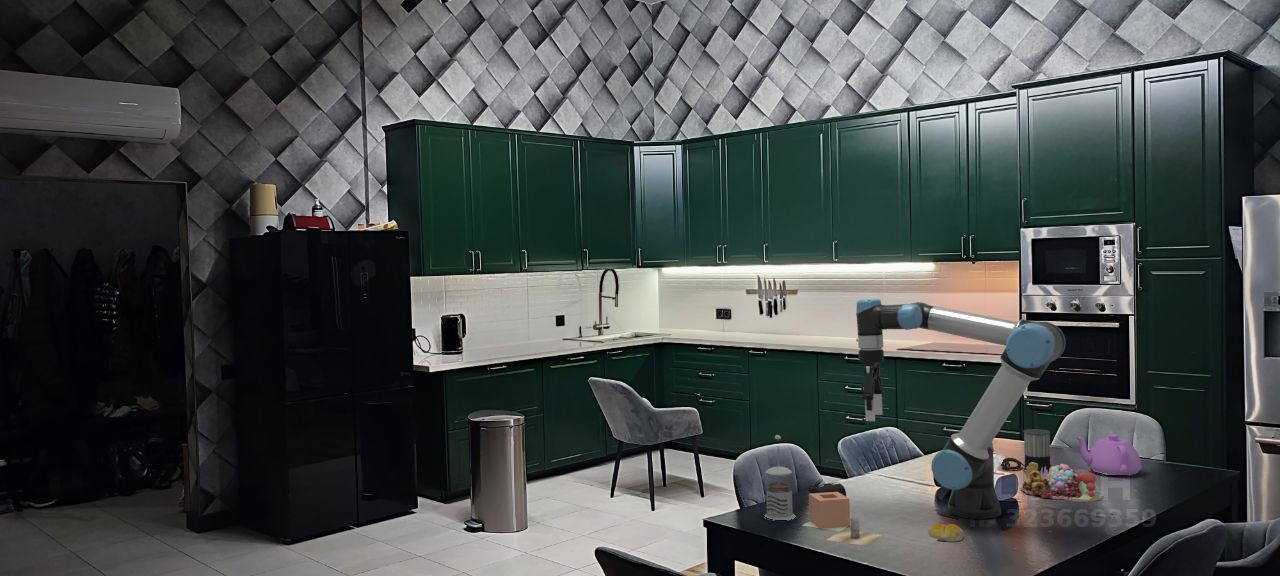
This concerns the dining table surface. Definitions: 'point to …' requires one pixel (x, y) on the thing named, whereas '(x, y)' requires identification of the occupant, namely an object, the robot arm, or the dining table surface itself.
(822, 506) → the collar
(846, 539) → the stand
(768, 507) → the french press
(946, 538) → the bread roll
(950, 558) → the dining table surface
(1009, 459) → the milk frother
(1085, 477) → the plate of food
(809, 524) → the green base with peg
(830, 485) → the black rounded block
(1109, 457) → the teapot
